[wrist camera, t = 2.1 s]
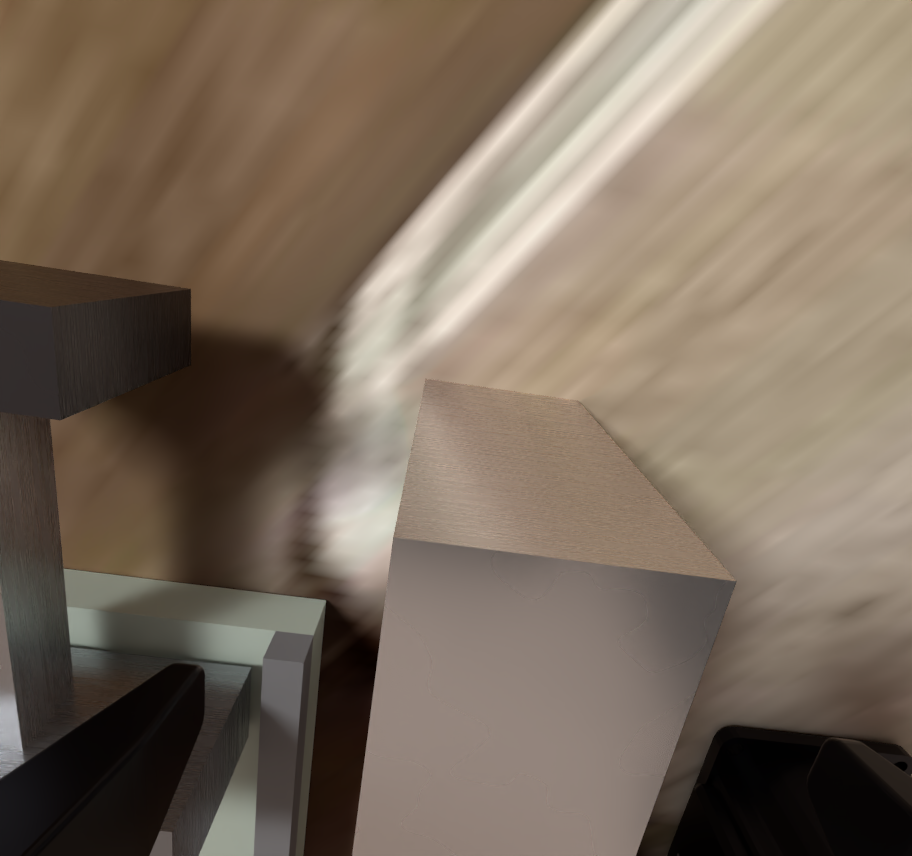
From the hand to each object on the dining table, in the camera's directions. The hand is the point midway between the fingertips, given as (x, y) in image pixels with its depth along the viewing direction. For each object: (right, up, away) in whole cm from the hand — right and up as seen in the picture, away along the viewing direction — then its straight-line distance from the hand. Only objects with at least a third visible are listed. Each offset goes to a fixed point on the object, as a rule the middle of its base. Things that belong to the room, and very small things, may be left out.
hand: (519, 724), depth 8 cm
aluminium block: (0, +2, +7) cm, 7 cm away
